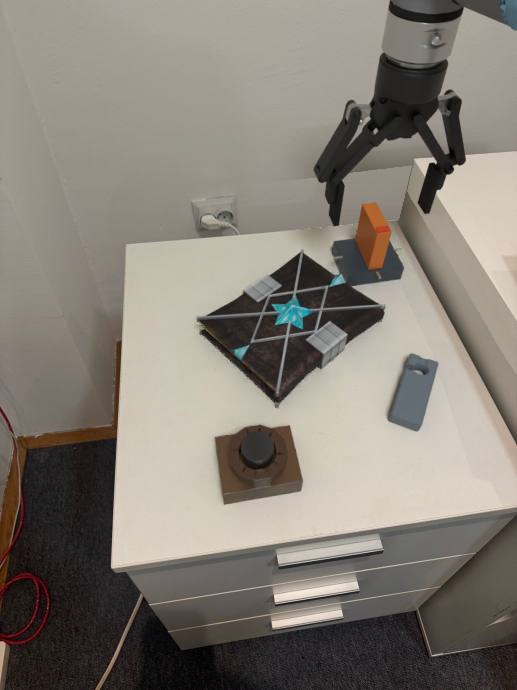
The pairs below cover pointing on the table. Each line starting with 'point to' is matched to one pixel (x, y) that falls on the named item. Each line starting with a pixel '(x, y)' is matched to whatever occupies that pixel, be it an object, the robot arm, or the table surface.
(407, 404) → the bracket
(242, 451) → the release button
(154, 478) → the table surface
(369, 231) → the orange handle lever
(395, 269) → the plate
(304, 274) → the book
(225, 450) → the block
